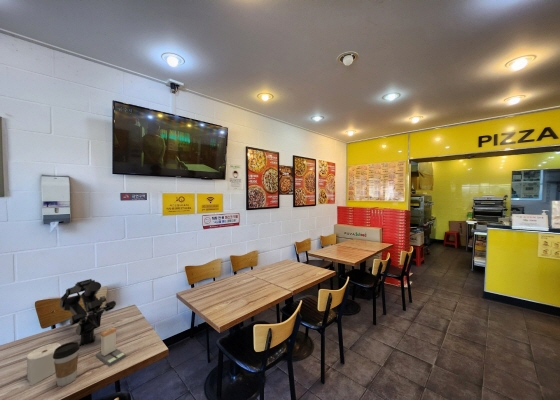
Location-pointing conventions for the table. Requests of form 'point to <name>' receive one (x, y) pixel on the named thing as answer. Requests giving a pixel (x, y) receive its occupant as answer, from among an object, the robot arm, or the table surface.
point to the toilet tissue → (41, 363)
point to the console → (111, 357)
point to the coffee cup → (66, 362)
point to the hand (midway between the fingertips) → (99, 326)
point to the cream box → (108, 341)
